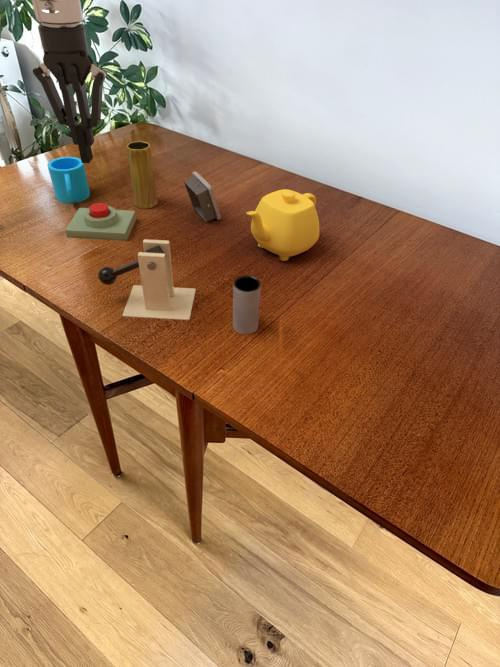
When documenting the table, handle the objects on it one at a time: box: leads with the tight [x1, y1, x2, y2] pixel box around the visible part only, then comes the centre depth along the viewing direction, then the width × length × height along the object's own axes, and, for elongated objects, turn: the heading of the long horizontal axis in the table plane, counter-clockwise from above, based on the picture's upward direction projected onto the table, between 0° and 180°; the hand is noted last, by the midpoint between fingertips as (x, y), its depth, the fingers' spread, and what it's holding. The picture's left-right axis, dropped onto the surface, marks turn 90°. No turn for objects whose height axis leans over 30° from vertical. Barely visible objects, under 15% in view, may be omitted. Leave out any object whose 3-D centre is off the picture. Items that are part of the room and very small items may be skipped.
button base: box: [64, 205, 137, 242], centre depth 104 cm, size 13×10×4 cm
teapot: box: [245, 188, 320, 262], centre depth 98 cm, size 14×20×13 cm
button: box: [88, 202, 109, 218], centre depth 102 cm, size 4×4×2 cm
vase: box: [126, 140, 159, 210], centre depth 110 cm, size 6×6×14 cm
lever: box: [97, 245, 166, 286], centre depth 80 cm, size 13×3×3 cm, turn 87°
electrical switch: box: [183, 170, 222, 223], centre depth 109 cm, size 9×5×9 cm, turn 29°
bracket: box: [121, 238, 197, 321], centre depth 82 cm, size 12×9×13 cm
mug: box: [47, 156, 91, 204], centre depth 112 cm, size 12×8×8 cm
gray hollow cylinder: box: [232, 274, 262, 335], centre depth 79 cm, size 4×4×10 cm
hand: (87, 160), depth 94 cm, fingers closed
